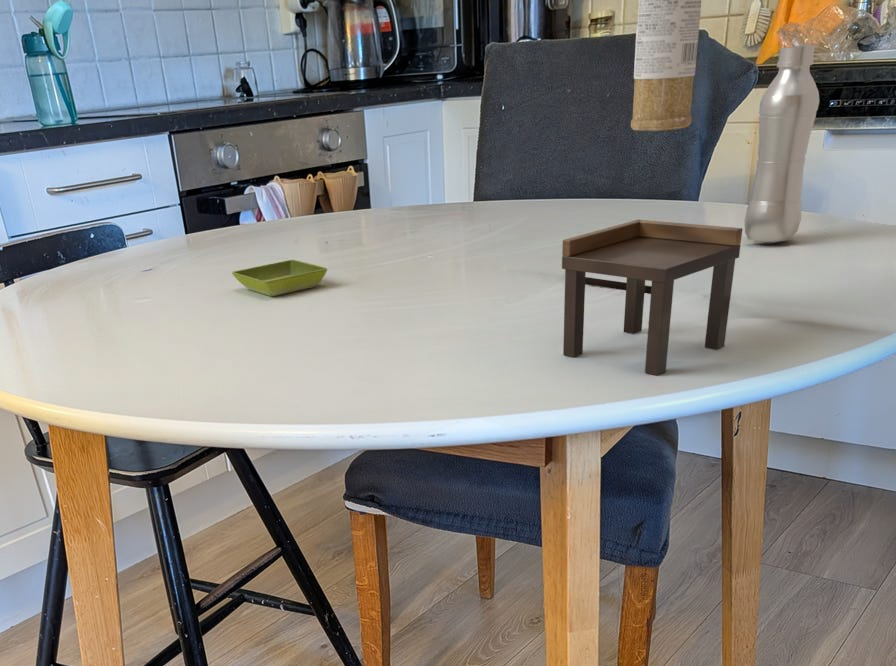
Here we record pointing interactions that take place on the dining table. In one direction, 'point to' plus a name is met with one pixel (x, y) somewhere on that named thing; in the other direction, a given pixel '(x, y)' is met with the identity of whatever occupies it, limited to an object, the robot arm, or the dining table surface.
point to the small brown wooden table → (650, 277)
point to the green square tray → (281, 277)
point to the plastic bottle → (783, 148)
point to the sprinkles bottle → (665, 63)
